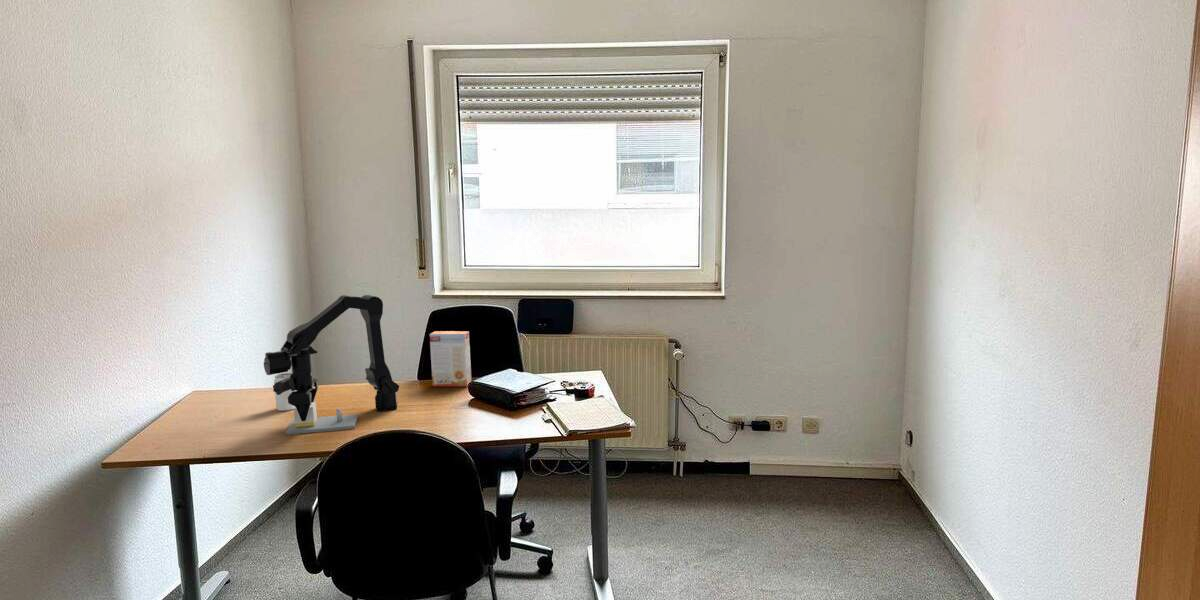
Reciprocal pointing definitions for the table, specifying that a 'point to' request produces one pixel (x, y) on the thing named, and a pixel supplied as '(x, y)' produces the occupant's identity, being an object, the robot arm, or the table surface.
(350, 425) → the board
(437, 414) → the table surface
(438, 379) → the cracker box
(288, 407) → the can
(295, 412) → the sleeve
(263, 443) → the table surface
